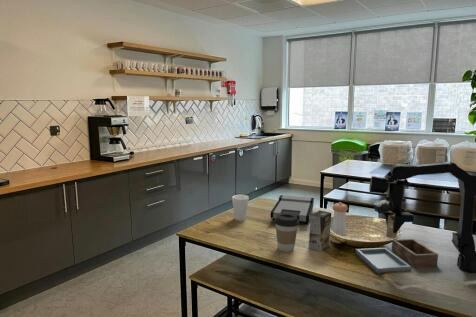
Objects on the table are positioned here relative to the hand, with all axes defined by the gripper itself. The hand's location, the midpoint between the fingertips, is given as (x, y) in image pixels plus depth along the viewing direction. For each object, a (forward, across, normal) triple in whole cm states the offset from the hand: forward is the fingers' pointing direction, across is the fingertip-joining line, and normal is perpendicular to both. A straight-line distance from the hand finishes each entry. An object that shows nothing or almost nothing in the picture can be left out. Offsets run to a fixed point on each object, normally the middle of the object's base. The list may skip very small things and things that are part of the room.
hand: (391, 231), depth 143 cm
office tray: (+15, -61, -24) cm, 67 cm away
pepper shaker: (+14, -24, -12) cm, 30 cm away
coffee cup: (+15, -18, -40) cm, 46 cm away
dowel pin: (+2, 0, 0) cm, 2 cm away
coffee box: (+15, -18, -24) cm, 33 cm away
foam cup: (+16, -60, -55) cm, 83 cm away
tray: (+14, +1, -4) cm, 14 cm away
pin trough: (+13, 0, +12) cm, 18 cm away
